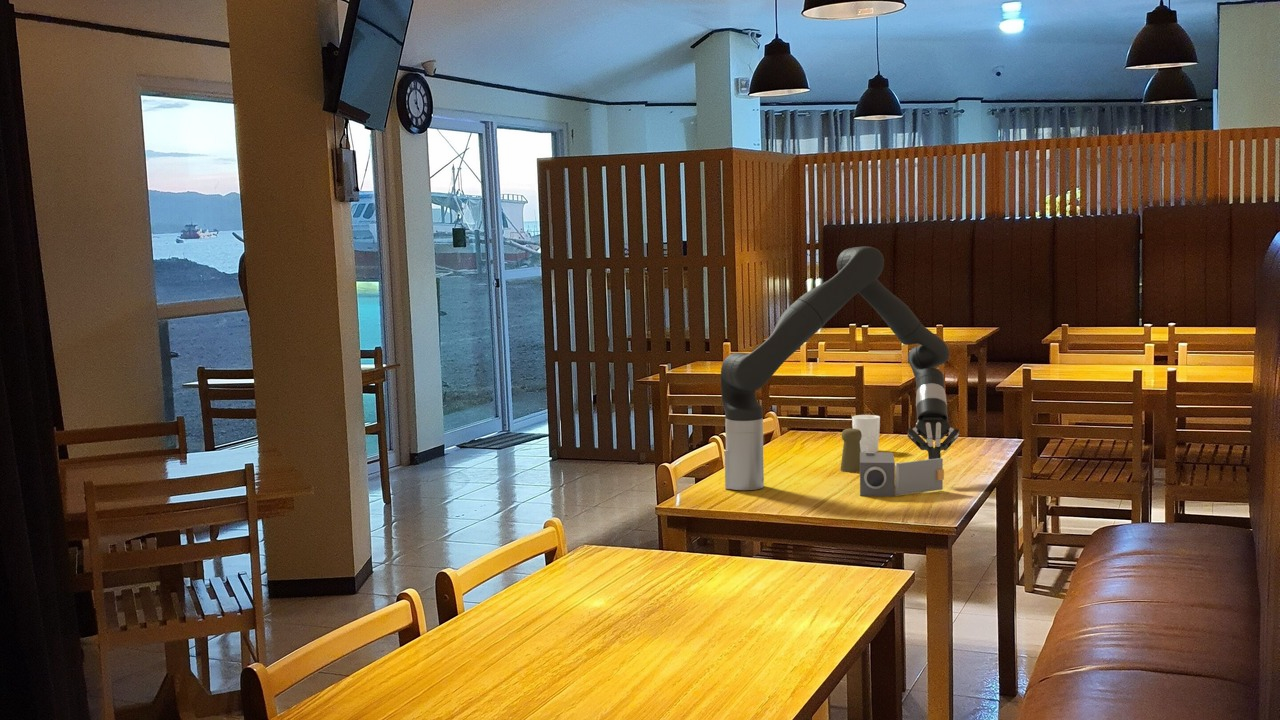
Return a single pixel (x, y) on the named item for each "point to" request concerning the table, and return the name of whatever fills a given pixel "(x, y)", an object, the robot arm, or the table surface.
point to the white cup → (867, 431)
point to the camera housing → (877, 474)
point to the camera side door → (919, 476)
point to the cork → (851, 450)
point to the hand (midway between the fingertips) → (934, 462)
